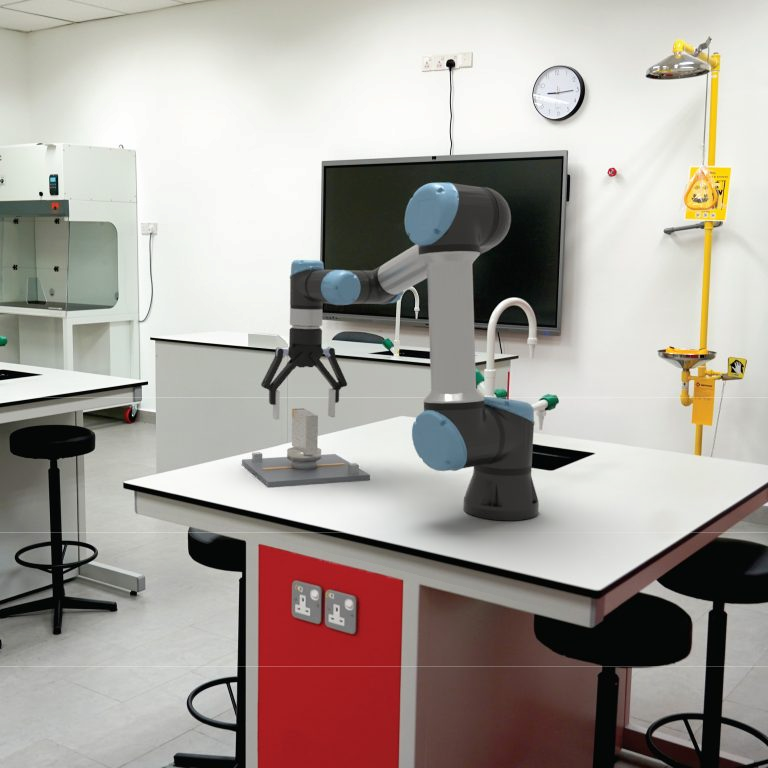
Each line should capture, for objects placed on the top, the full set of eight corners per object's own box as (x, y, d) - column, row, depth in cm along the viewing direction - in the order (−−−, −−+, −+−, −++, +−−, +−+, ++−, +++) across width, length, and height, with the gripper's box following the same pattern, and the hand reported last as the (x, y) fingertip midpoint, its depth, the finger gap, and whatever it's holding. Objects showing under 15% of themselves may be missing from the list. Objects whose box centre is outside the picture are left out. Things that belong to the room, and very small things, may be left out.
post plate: (369, 479, 207) (370, 466, 207) (268, 487, 198) (268, 473, 198) (335, 458, 229) (335, 446, 229) (242, 464, 220) (242, 451, 220)
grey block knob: (327, 462, 210) (328, 415, 208) (294, 464, 207) (295, 416, 205) (313, 452, 220) (313, 407, 219) (281, 454, 217) (281, 409, 215)
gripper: (350, 325, 218) (348, 412, 221) (249, 325, 208) (248, 416, 211) (362, 328, 211) (359, 418, 214) (257, 328, 201) (256, 422, 204)
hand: (304, 417), depth 212 cm, fingers open, 13 cm apart
